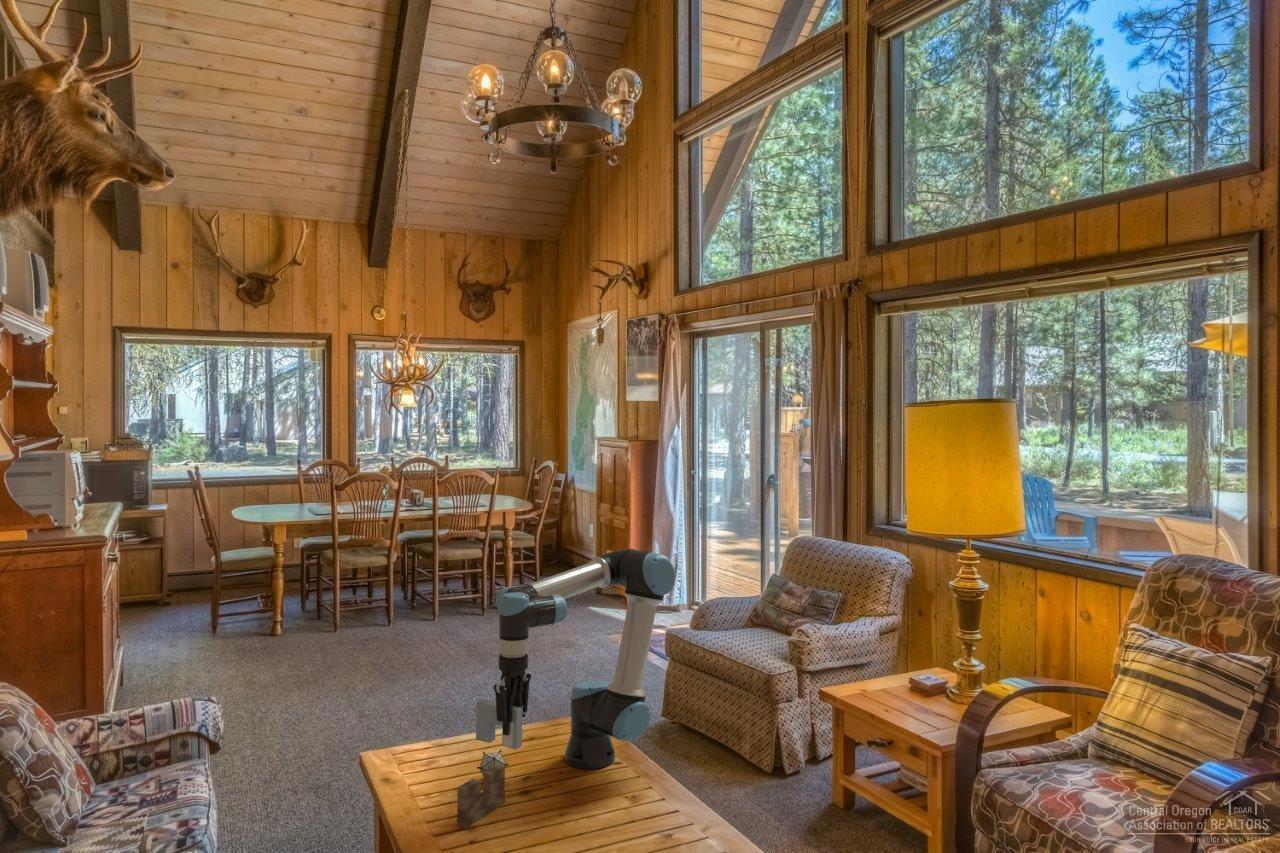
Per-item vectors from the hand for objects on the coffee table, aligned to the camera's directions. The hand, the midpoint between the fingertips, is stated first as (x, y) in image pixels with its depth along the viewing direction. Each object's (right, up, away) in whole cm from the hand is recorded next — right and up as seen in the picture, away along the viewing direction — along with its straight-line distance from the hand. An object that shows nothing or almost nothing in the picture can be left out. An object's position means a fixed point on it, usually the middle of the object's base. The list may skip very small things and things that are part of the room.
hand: (511, 744), depth 218 cm
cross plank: (-4, 0, +2) cm, 4 cm away
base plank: (-8, -19, +2) cm, 21 cm away
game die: (-9, -19, +22) cm, 30 cm away
